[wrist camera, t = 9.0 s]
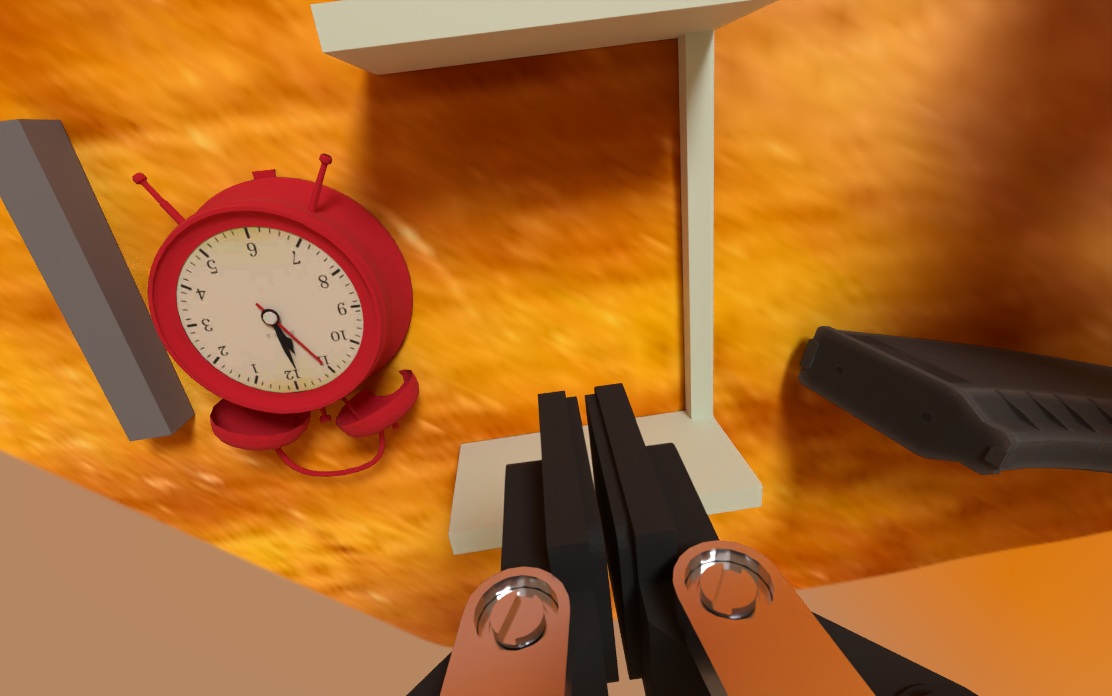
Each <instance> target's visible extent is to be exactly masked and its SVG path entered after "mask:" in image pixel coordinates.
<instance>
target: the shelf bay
mask: <svg viewBox="0 0 1112 696" xmlns="http://www.w3.org/2000/svg"><path fill="white" fill-rule="evenodd" d="M775 1H777V0H344V1H335V2H327V3H318V4H310V5H311V9H312V13H313V17H314V21H315V24H316V28H317V32H318V36H319V40H320V44H321V47H322V51H323V53H325V54H328V55H330V56H332V57H335V58H337V59H340V60H342V61H344V62H347V63H349V64H352V65H354V66H356V67H359V68H361V69H363V70H366V71H368V72H371V73H373V74H375V75H382V74H390V73H398V72H406V71H415V70H423V69H431V68H439V67H447V66H455V65H463V64H471V63H479V62H487V61H495V60H503V59H511V58H519V57H527V56H535V55H544V54H552V53H560V52H568V51H576V50H584V49H592V48H600V47H608V46H616V45H624V44H632V43H640V42H648V41H656V40H664V39H673V38H678V67H679V115H680V162H681V210H682V257H683V305H684V353H685V400H686V410H685V411H678V412H672V413H665V414H658V415H652V416H645V417H639V418H635V419H636V422H637V424H638V427H639V430H640V432H641V435H642V438H643V440H644V443H645V446H649V445H656V444H664V443H671V442H672V443H673V444H674V445H675V447H676V448H677V450H678V452H679V455H680V457H681V459H682V461H683V463H684V465H685V467H686V470H687V472H688V474H689V476H690V478H691V480H692V483H693V485H694V487H695V489H696V491H697V493H698V495H699V498H700V500H701V502H702V504H703V506H704V508H705V511H706V513H707V515H710V514H716V513H723V512H729V511H735V510H742V509H748V508H754V507H760V506H762V487H763V485H762V483H761V482H760V481H759V479H758V478H757V477H756V475H755V474H754V472H753V471H752V470H751V468H750V467H749V465H748V464H747V463H746V461H745V460H744V459H743V457H742V456H741V454H740V453H739V452H738V450H737V449H736V447H735V446H734V445H733V443H732V442H731V441H730V439H729V438H728V436H727V435H726V434H725V432H724V431H723V430H722V428H721V427H720V425H719V424H718V423H717V421H716V420H715V418H714V417H713V225H714V30H716V29H718V28H720V27H722V26H724V25H726V24H729V23H731V22H733V21H735V20H737V19H739V18H741V17H743V16H746V15H748V14H750V13H752V12H754V11H756V10H758V9H760V8H763V7H765V6H767V5H769V4H771V3H773V2H775ZM582 427H583V432H584V437H585V442H586V447H587V452H588V458H589V463H590V468H591V473H592V478H593V483H594V477H593V468H592V459H591V450H590V440H589V431H588V425H585V426H582ZM536 460H542V455H541V438H540V432H539V433H532V434H526V435H519V436H513V437H506V438H499V439H493V440H486V441H479V442H473V443H466V444H461V447H460V454H459V461H458V469H457V476H456V483H455V490H454V497H453V504H452V511H451V519H450V526H449V533H448V535H449V539H450V543H451V547H452V551H453V554H454V555H458V554H464V553H470V552H477V551H483V550H489V549H496V548H502V533H503V511H504V489H505V469H506V465H507V464H514V463H521V462H529V461H536ZM594 488H595V487H594Z"/></svg>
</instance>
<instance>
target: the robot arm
mask: <svg viewBox="0 0 1112 696" xmlns="http://www.w3.org/2000/svg"><path fill="white" fill-rule="evenodd" d="M594 392H595V394H590V395H585V403H586V412H587V422H588V431H589V440H590V450H591V459H592V468H593V477H594V483H593V478H592V473H591V468H590V463H589V458H588V452H587V447H586V442H585V437H584V432H583V427H582V422H581V417H580V412H579V406H578V401H577V397H576V396H575V397H568V398H566V395H565V391H558V392H551V393H543V394H538V404H539V421H540V438H541V455H542V460H536V461H529V462H521V463H514V464H507V465H506V469H505V489H504V511H503V533H502V556H501V572H499V573H496V574H494V575H492V576H491V577H490V578H488V579H487V580H485V581H484V582H483V583H481V584H480V585H479V586H478V588H477V589H476V590H475V591H474V592H473V593H472V595H471V596H470V598H469V600H468V602H467V604H466V606H465V609H464V611H463V615H462V618H461V622H460V625H459V629H458V633H457V636H456V640H455V643H454V647H453V650H452V652H451V653H450V654H449V655H448V656H447V657H446V658H445V659H444V660H443V661H442V662H441V663H439V664H438V665H437V666H436V667H435V668H434V669H433V670H432V671H431V672H430V673H429V674H428V675H427V676H426V677H425V678H424V679H423V680H422V681H421V682H420V683H419V684H418V685H417V686H416V687H415V688H414V689H413V690H412V691H411V692H410V693H409V694H408V695H406V696H608V689H607V683H610V682H618V681H619V676H618V666H617V657H616V647H615V637H614V627H613V617H612V608H611V598H610V588H609V578H608V570H609V576H610V581H611V586H612V591H613V597H614V602H615V607H616V612H617V618H618V623H619V628H620V633H621V638H622V643H623V649H624V654H625V659H626V664H627V670H628V675H629V679H630V680H632V679H640V678H642V680H643V685H644V690H645V694H646V696H978V695H976V694H975V693H973V692H972V691H970V690H968V689H967V688H965V687H963V686H961V685H959V684H957V683H955V682H953V681H951V680H949V679H947V678H945V677H943V676H941V675H939V674H937V673H935V672H932V671H931V670H929V669H927V668H925V667H922V666H920V665H919V664H917V663H915V662H912V661H910V660H908V659H906V658H904V657H902V656H900V655H898V654H896V653H894V652H892V651H890V650H888V649H886V648H884V647H882V646H880V645H878V644H876V643H874V642H872V641H870V640H868V639H866V638H864V637H862V636H860V635H858V634H856V633H854V632H852V631H850V630H847V629H846V628H844V627H842V626H840V625H838V624H836V623H833V622H831V621H829V620H827V619H825V618H823V617H821V616H819V615H817V614H815V613H813V612H811V611H810V610H809V608H808V607H807V606H806V605H805V603H804V602H803V601H802V599H801V598H800V597H799V595H798V594H797V593H796V592H795V590H794V589H793V588H792V586H791V585H790V584H789V582H788V581H787V580H786V579H785V577H784V576H783V575H782V573H781V572H780V571H779V569H778V568H777V567H776V566H775V565H774V564H773V563H772V562H771V561H770V560H769V559H768V558H767V557H766V556H764V555H763V554H761V553H759V552H758V551H756V550H754V549H753V548H751V547H748V546H745V545H742V544H739V543H736V542H729V541H720V540H719V539H718V536H717V534H716V532H715V530H714V528H713V526H712V523H711V521H710V519H709V517H708V515H707V513H706V511H705V508H704V506H703V504H702V502H701V500H700V498H699V495H698V493H697V491H696V489H695V487H694V485H693V483H692V480H691V478H690V476H689V474H688V472H687V470H686V467H685V465H684V463H683V461H682V459H681V457H680V455H679V452H678V450H677V448H676V447H675V445H674V444H673V443H672V442H671V443H664V444H656V445H649V446H645V443H644V440H643V438H642V435H641V432H640V430H639V427H638V424H637V422H636V419H635V416H634V413H633V411H632V408H631V405H630V403H629V400H628V397H627V395H626V392H625V389H624V387H623V384H622V383H619V384H611V385H604V386H596V387H595V388H594ZM594 487H595V488H594ZM607 565H608V569H607Z"/></svg>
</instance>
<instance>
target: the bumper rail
mask: <svg viewBox="0 0 1112 696" xmlns="http://www.w3.org/2000/svg"><path fill="white" fill-rule="evenodd" d="M0 197H1V199H2V201H3V203H4V204H5V206H6V208H7V210H8V212H9V214H10V216H11V218H12V220H13V221H14V223H15V225H16V227H17V229H18V231H19V233H20V235H21V237H22V238H23V240H24V242H25V244H26V246H27V248H28V250H29V252H30V254H31V255H32V257H33V259H34V261H35V263H36V265H37V267H38V269H39V271H40V272H41V274H42V276H43V278H44V280H45V282H46V284H47V286H48V288H49V290H50V291H51V293H52V295H53V297H54V299H55V301H56V303H57V305H58V307H59V308H60V310H61V312H62V314H63V316H64V318H65V320H66V322H67V324H68V325H69V327H70V329H71V331H72V333H73V335H74V337H75V339H76V341H77V342H78V344H79V346H80V348H81V350H82V352H83V354H84V356H85V358H86V359H87V361H88V363H89V365H90V367H91V369H92V371H93V373H94V375H95V376H96V378H97V380H98V382H99V384H100V386H101V388H102V390H103V392H104V393H105V395H106V397H107V399H108V401H109V403H110V405H111V407H112V409H113V411H114V412H115V414H116V416H117V418H118V420H119V422H120V424H121V426H122V428H123V429H124V431H125V433H126V435H127V437H128V439H129V441H135V440H142V439H149V438H155V437H162V436H169V435H173V434H174V433H175V432H176V431H177V430H178V429H179V428H180V427H181V426H182V425H184V424H185V423H186V422H187V421H188V420H189V419H190V418H191V417H192V416H193V415H194V414H195V413H194V411H193V409H192V407H191V404H190V402H189V400H188V398H187V396H186V393H185V391H184V389H183V387H182V385H181V383H180V380H179V378H178V376H177V374H176V372H175V369H174V367H173V365H172V363H171V361H170V359H169V356H168V354H167V352H166V350H165V348H164V345H163V343H162V341H161V340H160V338H159V336H158V333H157V331H156V329H155V326H154V324H153V321H152V319H151V317H150V315H149V313H148V311H147V308H146V306H145V304H144V302H143V300H142V297H141V295H140V293H139V291H138V289H137V286H136V284H135V282H134V280H133V278H132V276H131V273H130V271H129V269H128V267H127V265H126V262H125V260H124V258H123V256H122V254H121V252H120V249H119V247H118V245H117V243H116V241H115V238H114V236H113V234H112V232H111V230H110V228H109V225H108V223H107V221H106V219H105V217H104V214H103V212H102V210H101V208H100V206H99V204H98V201H97V199H96V197H95V195H94V193H93V190H92V188H91V186H90V184H89V182H88V180H87V177H86V175H85V173H84V171H83V169H82V166H81V164H80V162H79V160H78V158H77V155H76V153H75V151H74V149H73V147H72V145H71V142H70V140H69V138H68V136H67V134H66V131H65V129H64V127H63V125H62V123H61V121H60V120H31V119H16V120H8V121H0Z"/></svg>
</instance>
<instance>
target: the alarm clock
mask: <svg viewBox="0 0 1112 696" xmlns="http://www.w3.org/2000/svg"><path fill="white" fill-rule="evenodd" d="M319 160H320V161H321V163H322V164H321V167H320V170H319V174H318V177H317V180H316V183H315V182H312V181H307V180H302V179H297V178H286V177H276V175H275V171H274V170H275V169H273V170H264V171H255V172H252V174H253V177H254V180H251V181H247V182H243V183H240V184H237V185H234V186H232V187H230V188H227V189H225V190H223V191H221V192H220V193H218V194H216V195H215V196H213V197H212V198H211V199H209V200H208V201H207V202H206V203H205V204H204V205H203V206H202V207H201V208H200V209H199V210H198V211H197V212H196V213H195V214H194V215H192V216H190V217H189V218H187V219H186V220H185V219H184V218H183V217H182V216H181V215H180V214H179V213H178V212H177V211H176V210H175V209H174V208H173V207H172V206H171V205H170V204H169V203H168V201H166V200H164V199H163V198H162V197H161V196H160V195H159V194H158V193H157V192H156V191H155V190H154V189H153V188H152V187H151V186H150V184H149V183H148V182H147V181H146V180H147V177H146V176H145V175H144V174H142V173H137V174H135V175H134V176H133V177H132V178H133V181H134V182H135V183H136V184H141V185H143V187H144V188H145V189H146V190H147V191H148V192H149V193H150V194H151V195H152V196H153V197H154V198H155V199H156V200H157V201H158V203H160V204H159V205H160V206H161V207H162V208H163V209H164V210H165V211H166V212H167V213H168V214H169V215H170V216H171V217H172V218H173V219H174V220H175V221H176V222H177V223H178V224H179V225H178V226H177V227H176V228H175V229H174V230H173V231H172V232H171V234H170V235H169V236H168V237H167V239H166V240H165V241H164V243H163V245H162V246H161V247H160V249H159V251H158V253H157V255H156V256H155V258H154V261H153V264H152V267H151V270H150V275H149V281H148V301H149V309H150V313H151V317H152V321H153V324H154V326H155V329H156V331H157V333H158V336H159V338H160V340H161V341H162V343H163V345H164V346H165V348H166V350H167V351H168V352H169V354H170V355H171V357H172V358H173V359H174V361H175V362H176V363H177V364H178V365H179V366H180V367H181V368H182V369H183V370H184V371H185V372H186V373H187V374H188V375H189V376H190V377H191V378H192V379H194V380H195V381H196V382H197V383H199V384H200V385H202V386H203V387H204V388H206V389H207V390H209V391H210V392H212V393H214V394H216V395H217V396H219V397H221V398H223V399H222V400H221V401H220V402H218V403H217V404H216V405H215V406H214V407H213V410H212V412H211V415H210V421H211V426H212V430H213V432H214V434H215V435H216V436H217V437H218V438H219V439H220V440H221V441H222V442H224V443H226V444H228V445H230V446H233V447H236V448H241V449H247V450H269V449H275V451H276V453H277V454H278V455H279V456H280V457H281V459H282V460H283V461H284V462H285V463H286V464H287V465H288V466H289V467H291V468H292V469H294V470H296V471H298V472H300V473H302V474H306V475H311V476H325V477H328V476H340V475H346V474H351V473H355V472H359V471H362V470H364V469H367V468H369V467H371V466H372V465H374V464H376V463H377V461H378V460H379V459H380V458H381V457H382V454H383V451H384V448H385V438H384V429H386V428H388V427H390V426H392V427H393V428H394V429H397V428H398V427H399V424H398V423H397V421H398V420H400V419H401V418H402V417H403V416H404V415H405V414H406V413H407V412H408V411H409V410H410V409H411V407H412V406H413V405H414V403H415V402H416V399H417V397H418V394H419V384H418V381H417V379H416V377H415V375H414V374H413V372H412V371H411V370H401V371H399V372H400V373H401V375H402V376H403V379H404V383H403V384H402V386H401V387H400V388H399V389H398V390H397V391H396V392H394V393H393V394H390V395H387V396H375V395H374V394H372V393H371V392H370V391H369V390H368V389H367V388H364V389H363V390H362V391H360V392H359V393H358V394H357V395H355V396H354V397H353V398H352V399H351V400H350V401H349V402H348V400H347V399H346V398H345V396H347V395H349V394H350V393H351V392H353V391H354V390H355V389H356V388H358V387H359V386H360V385H361V384H362V383H363V382H364V381H365V380H366V379H367V378H369V377H371V376H372V375H374V374H375V373H376V372H378V371H379V370H380V369H382V368H383V367H384V366H385V365H386V364H387V363H388V362H389V361H390V360H391V358H392V357H393V356H394V355H395V353H396V352H397V350H398V349H399V347H400V345H401V344H402V342H403V340H404V338H405V335H406V333H407V330H408V327H409V324H410V320H411V315H412V307H413V292H412V284H411V279H410V275H409V271H408V268H407V265H406V262H405V260H404V257H403V255H402V253H401V251H400V249H399V248H398V246H397V244H396V243H395V241H394V240H393V238H392V236H391V235H390V233H389V232H388V231H387V230H386V229H385V228H384V226H383V225H382V224H381V223H380V222H379V221H378V220H377V219H376V218H375V217H374V216H373V215H372V214H371V213H370V212H369V211H368V210H366V209H365V208H364V207H362V206H361V205H360V204H358V203H357V202H356V201H354V200H353V199H351V198H349V197H348V196H346V195H344V194H342V193H340V192H338V191H336V190H334V189H332V188H329V187H327V186H324V185H322V183H323V179H324V175H325V172H326V168H327V165H328V164H331V162H332V158H331V156H329V155H327V154H321V155H320V158H319ZM340 399H342V400H343V401H344V402H345V404H346V405H345V406H344V407H343V408H342V410H341V411H340V413H339V414H338V416H337V418H336V425H337V426H338V427H339V428H340V429H341V430H342V431H343V432H345V433H346V434H347V435H349V436H352V437H366V436H369V435H373V434H376V433H379V440H380V444H379V451H378V454H377V455H376V456H375V457H374V458H373V460H372V461H370V462H368V463H366V464H363V465H361V466H359V467H355V468H350V469H346V470H340V471H313V470H308V469H305V468H302V467H300V466H298V465H296V464H295V463H293V462H292V461H291V460H290V459H289V458H288V457H287V456H286V455H285V453H284V452H283V451H282V450H281V448H280V447H283V446H286V445H288V444H290V443H292V442H294V441H295V440H297V439H298V438H299V437H300V436H301V435H302V434H303V432H304V431H305V430H306V429H307V426H308V424H309V421H310V415H311V410H316V409H320V410H321V413H322V416H320V422H328V421H331V416H330V415H327V414H326V411H325V408H324V407H325V406H327V405H330V404H332V403H334V402H336V401H338V400H340Z"/></svg>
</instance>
